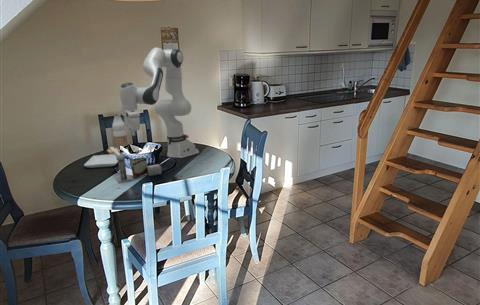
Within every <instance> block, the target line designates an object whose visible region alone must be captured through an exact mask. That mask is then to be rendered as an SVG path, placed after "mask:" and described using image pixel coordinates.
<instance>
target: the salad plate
mask: <svg viewBox="0 0 480 305" xmlns="http://www.w3.org/2000/svg"><path fill="white" fill-rule="evenodd" d="M117 164H118V160H117V159H116V156H115V155H114V154H111V155H110V154H109V153H108V154H100V155H93V156H91V157H90V158H89V159H88V160H87V161H86V162H85V163H84V164H83V166H84V167H85V168H90V169H91V168H96V169H97V168H109V167H110V168H111V167H113V166H114V167H115V166H116V165H117Z"/></svg>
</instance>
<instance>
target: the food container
mask: <svg viewBox="0 0 480 305" xmlns="http://www.w3.org/2000/svg"><path fill="white" fill-rule="evenodd" d="M147 161H148V159H147V157H136V158H132V159H131V160H129V167H131V173H132V178H134V179H139V178H140V177H142V176H145V175H147V171H146V166H148V164H147V163H148V162H147Z"/></svg>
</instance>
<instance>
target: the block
mask: <svg viewBox="0 0 480 305" xmlns="http://www.w3.org/2000/svg"><path fill="white" fill-rule="evenodd" d="M146 171H147V174H146V175H147V176H148V177H152V176H156V175H162V165H161V164H160V163H157V164H151V165H147V166H146Z"/></svg>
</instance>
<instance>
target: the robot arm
mask: <svg viewBox="0 0 480 305" xmlns="http://www.w3.org/2000/svg"><path fill="white" fill-rule="evenodd" d="M183 61H184V56H183V53H182V51H181V50H180V49H176V48H173V49H172V48H170V49H162V48H160V47H153V48H152V49H151V50H150V51H149V53H148V54H147V55H146V57H145V59H144V61H143V63H142V69H143V71H144V73H145V74H146V75H147V76H149V77H151V78H152V80H151V83H150V86H146V87H142V86H141V87H140V86H139V87H138V86H136V85H135V84H134V83H133V82H126V83H122V84H121V85H120V86H119V96H120V97H119V99H120V102H121V113H122V114H121V115H122V116H123V122H124V123H125V127H128V128H129V131H130V135H132V136H133V137H134V136H136V131H140V129H141V122H140V116H141V113H140V111H139V108H138V104H139V105H148V106H149V105H150V106H153V105H154V111H155V113H156V114H157V116H160V118H161V119H162V120H163V121H164V124H165V127H166V134H167V135H166V140H167V141H166V142H167V153H166V156H167V157H169V158H179V159H183V158H186V157H190V156H193V155H197V154H199V153H200V150H199V149H198V148H196V145H195V143H193V142H192V141H190V140H189V135H188V134H185V133H184V126H183V123H182V122H181V121H180V120H178V119H177V118H176V117H183V116H188V115H190V113H191V111H192V104H191V103H190V102H189V100H187V98H186V97H185V96H184V93H183V72H182V71H183V70H182V63H183ZM162 68H166V70H165V78H164V79H165V84H164V85H165V86H164V89H165V92H166V93H168V94H169V95H171V96H172V99H160V100H159V97H160V90H161V86H162V83H163V77H164V71H163V69H162Z"/></svg>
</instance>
